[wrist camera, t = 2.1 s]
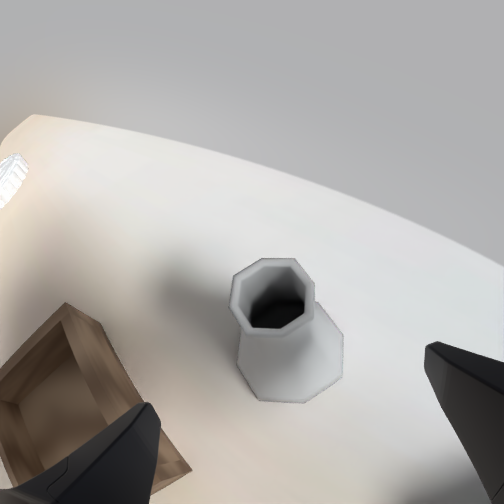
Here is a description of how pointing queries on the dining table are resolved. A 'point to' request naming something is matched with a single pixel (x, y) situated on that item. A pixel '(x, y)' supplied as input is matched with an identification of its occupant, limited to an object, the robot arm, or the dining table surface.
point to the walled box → (67, 398)
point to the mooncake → (11, 176)
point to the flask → (284, 332)
